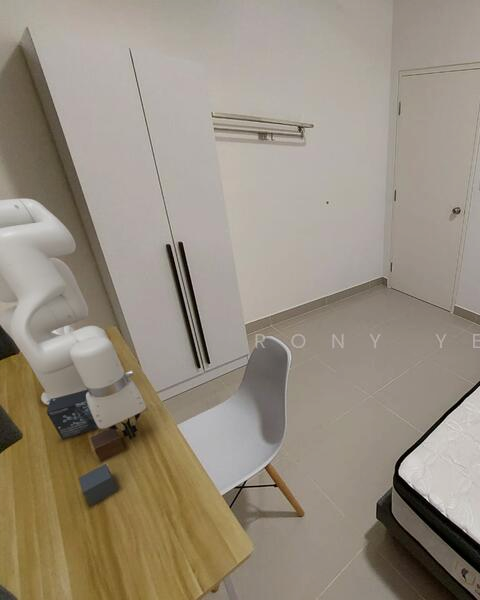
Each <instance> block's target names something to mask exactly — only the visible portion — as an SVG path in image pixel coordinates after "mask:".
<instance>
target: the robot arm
mask: <svg viewBox="0 0 480 600" xmlns="http://www.w3.org/2000/svg"><path fill="white" fill-rule="evenodd" d="M76 247H77V245H76V241H75V239H74V237H73V234H72V233H71V232H70V231H69V229H68V228H67V226H65V224H64V223H62V221H61V220H60V219H59V218H58V217H57V216H55V215H54V214H53V213H52V212H51V211H50V210H48V209H47V208H46V207H45V206H44V205H43V204H42V203H41V202H39V201H37V200H35V199H32V198H24V197H23V198H11V199H10V198H8V199H0V302H1V303H7V304H9V303H17V304H16V305H13V306H11V307H8V308H6V309H5V310H3V311H2V312H1V313H0V327H1V328H2V329H3V330H4V332H5V333H6V334H7V335H8V336H9V337H10V338H11V340H13V342H14V343H15V345H16V346H17V347H16V348H18V350H19V351H20V352H21V354H22V355H23V357H24V358H25V359H26V361H27V363H28V364H29V366H30V368H31V370H32V371H33V373H34V375H35V377H36V378H37V380H38V382H39V383H40V385H41V387H42V388H43V390H44V391H43V392H42V394H41V396H40V400H41V402H42V403H43V404H44V405H46V406H49V403H50V399H53V398H57V397H61V396H65V395H69V394H73V393H77V392H81V391H84V390H88V392H87V394H86V400H87V404H88V407H89V409H90V412H91V414H92V416H93V419H94V421H95V423H96V424H97V429H96V430H97V431H98V432H99V433H101V432H103V431H106V430H109V429H116V430H117V431H120V432H121V433H122V435H123V437H124V438H127V437H128V439H129V441H131V440H132V439H134V438H137V434H136V433H137V432H138V431H139V430H138V428H137V425H136V424H137V420H139V418H140V416H141V415H143V414H144V413H146V412H147V411H148V410H149V407H148V405H147V404H146V402H145V400H144V398H143V396H142V394H141V392H140V390H139V388H138V386H137V385H136V383H135V381H134V380H133V379H132V378H131V377H133V376H134V372H133V370H129V371H126V370H124V368H123V365H122V363H121V360H120V358H119V357H118V353H117V351H116V348H115V347H114V345H113V343H112V341H111V340H110V339H109V336H108V334H107V333H106V331H105V330H104V329H103V328H102V327H99V326H97V325H86V326H83V327H80V328H78V329H74V331H72V332H69V333H66V334H63V335H59V334H56V333H52V331H54V330H56V329H59V328H62V327H64V326H67V325H70V326H71V325H73V324H76V323H78V322H81V321H84V320H85V319H86V318H88V317H89V307H88V304H87V303H86V300H85V298H84V295H83V294H82V291H81V289H80V287H79V285H78V282H77V280H76V278H75V275H74V274H73V272H72V270H71V268H70V267H69V265H67V264H66V263H65V262H64V261H63V260H61V259H59V258H57V257H61V256H67V255H70V254H73V253H74V252H75V251H76V249H77V248H76ZM123 421H126V422H123Z"/></svg>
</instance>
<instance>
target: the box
mask: <svg viewBox="0 0 480 600" xmlns="http://www.w3.org/2000/svg"><path fill="white" fill-rule="evenodd" d="M87 392H88V390H84V391H81V392H77V393H73V394H69V395H65V396H61V397H57V398H53V399H50V403H49V405H47V409H46V412H45V413H46V415H47V416H48V418H49V420H50V421H51V423H52V425H53V426H54V428H55V430H56V432H57V433H58V435H59V436H60V438H61V439H62V440H65V439H69V438H71V437H74V436H78V435H81V434H84V433H88V432H90V431H94V430H98V429H97V424H96V423H95V421H94V419H93V416H92V414H91V412H90V409H89V407H88V404H87V400H86V394H87Z"/></svg>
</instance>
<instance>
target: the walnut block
mask: <svg viewBox="0 0 480 600" xmlns="http://www.w3.org/2000/svg"><path fill="white" fill-rule="evenodd" d="M90 440H91V443H92V447H93V449H94V452H95V454H96V455H97V457H98V459H99V461H100V462H101V463H102V462H104V461H106V460H108V459H110V458H112V457H115V456H116V455H118V454H121V453H123V452H124V451H126V448H125V445H124V443H123V441H122V438H121V436H120V434H119V432H118V430H117V429H109V430H106V431H102V432H99V433H96V434H94V435H92V436H90Z"/></svg>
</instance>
